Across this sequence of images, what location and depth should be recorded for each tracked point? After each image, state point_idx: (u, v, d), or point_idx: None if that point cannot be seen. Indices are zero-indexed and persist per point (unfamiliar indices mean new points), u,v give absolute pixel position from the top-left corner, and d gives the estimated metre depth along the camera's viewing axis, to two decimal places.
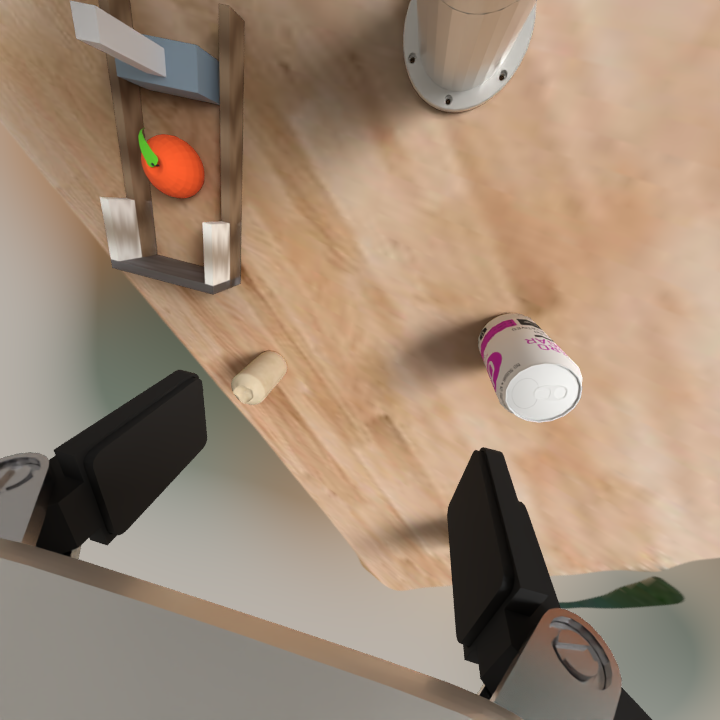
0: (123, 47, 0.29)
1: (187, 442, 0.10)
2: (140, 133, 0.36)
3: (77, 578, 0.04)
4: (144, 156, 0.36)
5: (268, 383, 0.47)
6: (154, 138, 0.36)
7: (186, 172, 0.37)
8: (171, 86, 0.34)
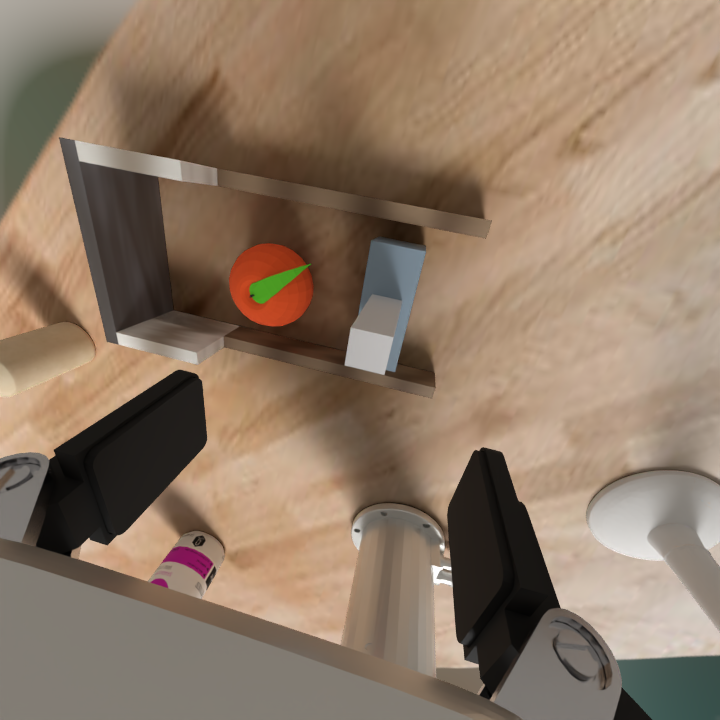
0: None
1: (187, 442, 0.10)
2: (295, 273, 0.23)
3: (77, 578, 0.04)
4: (261, 280, 0.23)
5: None
6: (293, 289, 0.24)
7: None
8: None
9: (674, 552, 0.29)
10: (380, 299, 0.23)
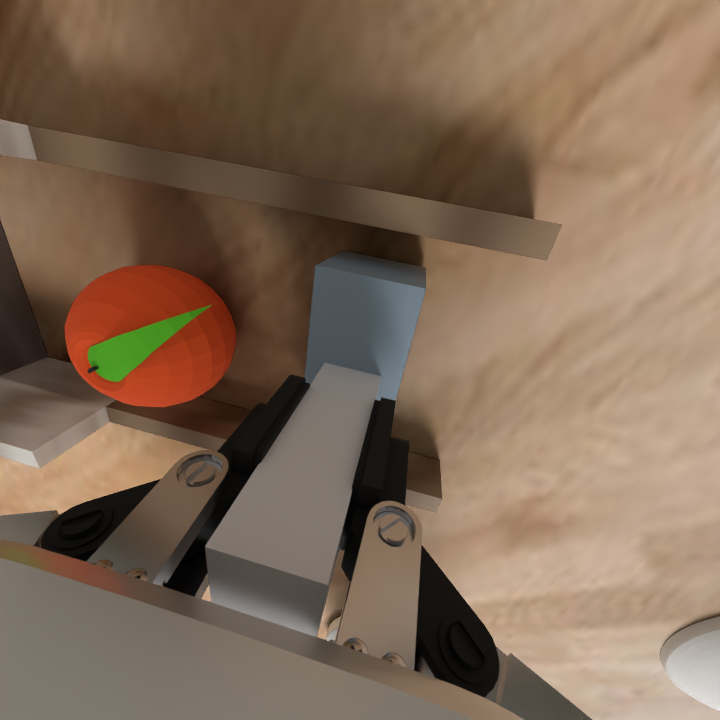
0: None
1: None
2: (171, 327, 0.12)
3: (76, 577, 0.04)
4: (104, 341, 0.12)
5: None
6: (180, 353, 0.13)
7: None
8: None
9: None
10: (337, 377, 0.12)
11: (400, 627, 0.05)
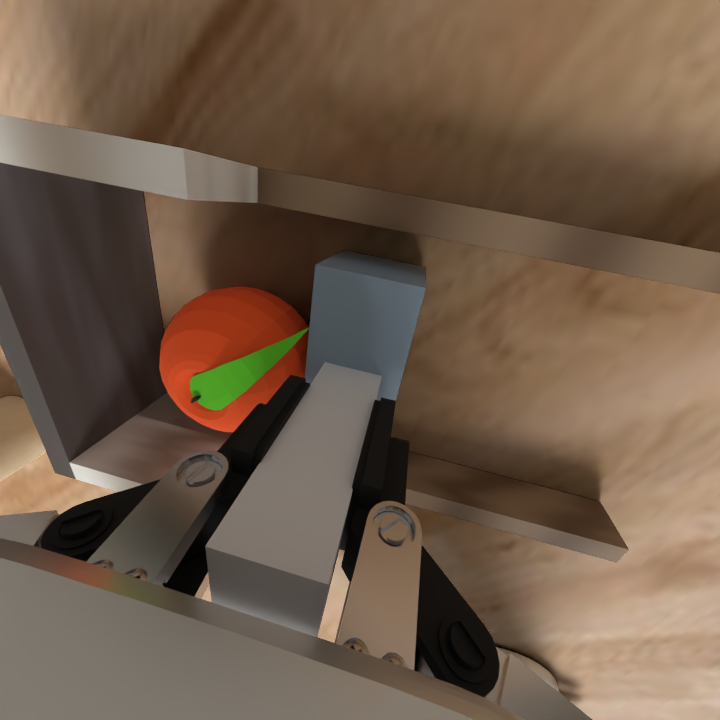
0: None
1: None
2: (277, 352, 0.11)
3: (78, 577, 0.04)
4: (210, 370, 0.11)
5: None
6: (278, 377, 0.12)
7: None
8: None
9: None
10: (338, 377, 0.12)
11: (400, 627, 0.05)
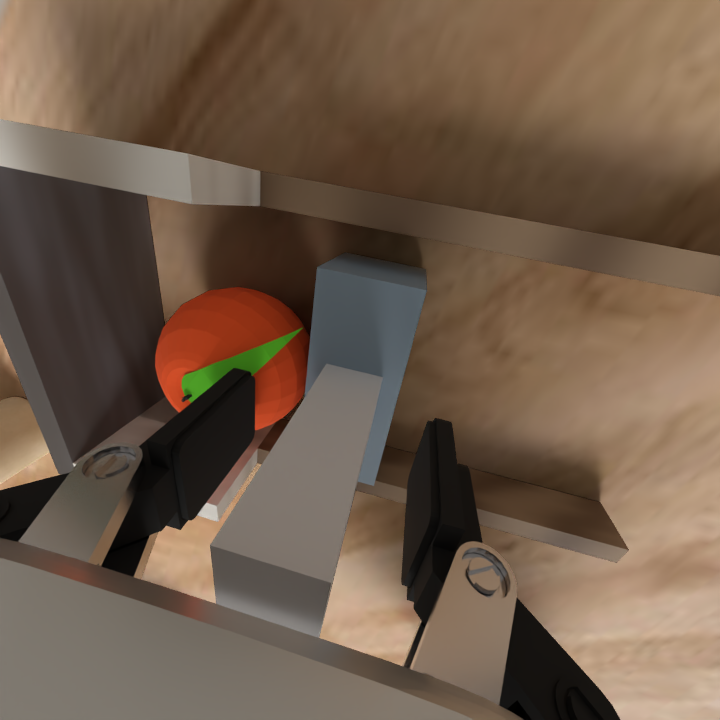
0: None
1: (241, 436, 0.11)
2: (267, 353, 0.11)
3: (77, 578, 0.04)
4: (200, 369, 0.11)
5: None
6: (270, 378, 0.12)
7: None
8: None
9: None
10: (339, 378, 0.12)
11: (481, 687, 0.05)
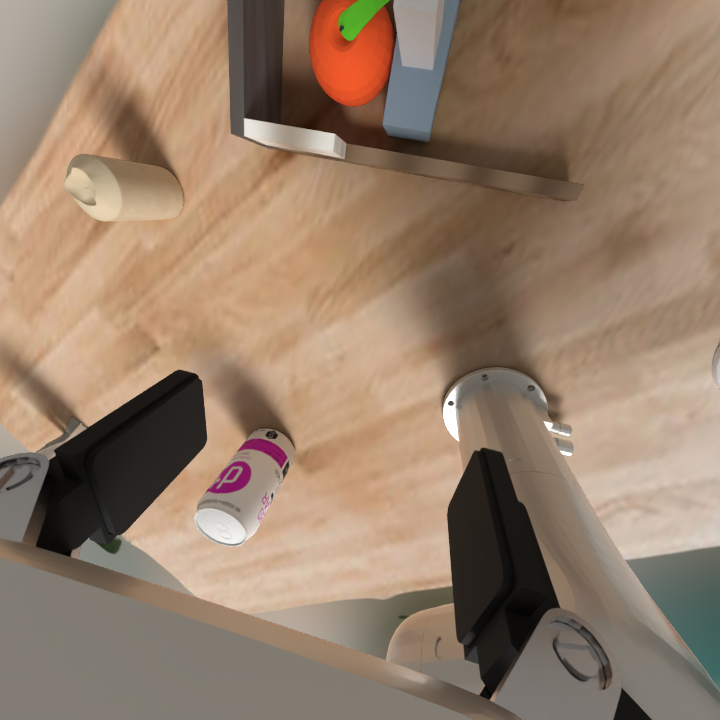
0: (406, 30, 0.19)
1: (187, 442, 0.10)
2: None
3: (76, 577, 0.04)
4: (352, 5, 0.21)
5: (123, 219, 0.31)
6: (383, 27, 0.22)
7: (342, 90, 0.25)
8: (391, 73, 0.24)
9: None
10: None
11: None
